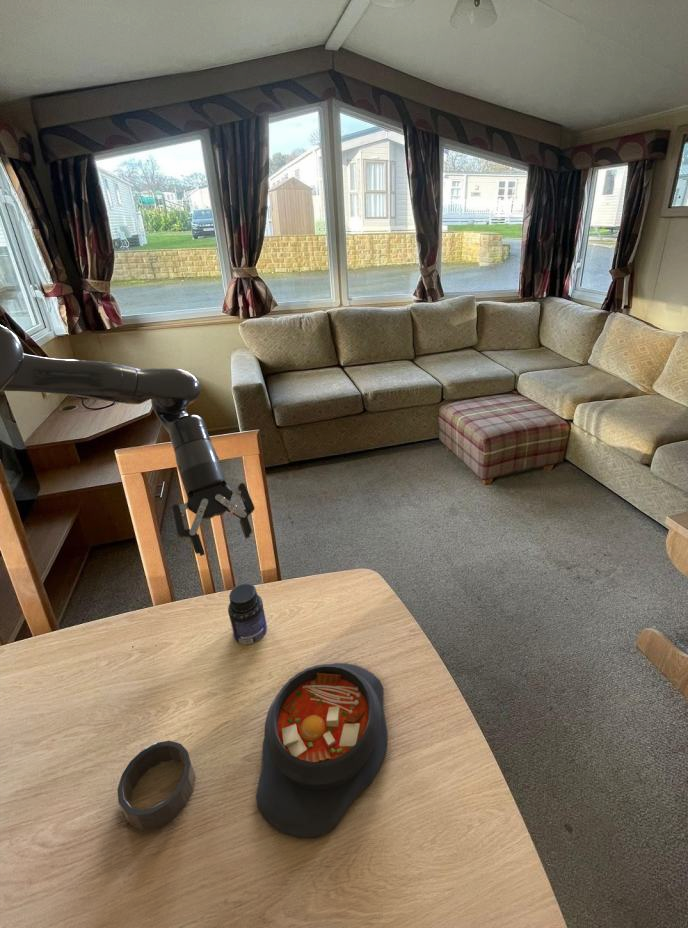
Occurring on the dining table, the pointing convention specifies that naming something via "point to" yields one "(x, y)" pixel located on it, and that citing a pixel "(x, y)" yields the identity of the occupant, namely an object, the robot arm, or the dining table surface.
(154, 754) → the ring
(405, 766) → the dining table surface
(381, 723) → the casserole
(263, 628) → the pill bottle
